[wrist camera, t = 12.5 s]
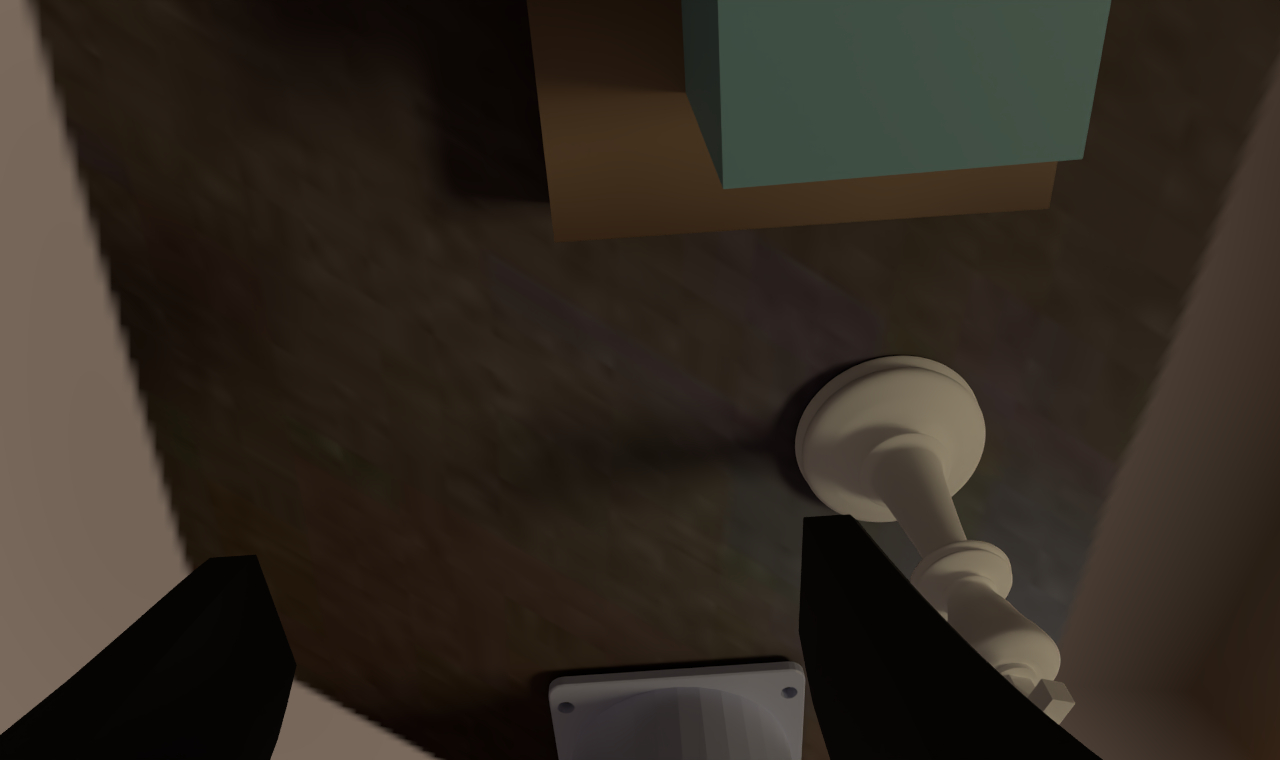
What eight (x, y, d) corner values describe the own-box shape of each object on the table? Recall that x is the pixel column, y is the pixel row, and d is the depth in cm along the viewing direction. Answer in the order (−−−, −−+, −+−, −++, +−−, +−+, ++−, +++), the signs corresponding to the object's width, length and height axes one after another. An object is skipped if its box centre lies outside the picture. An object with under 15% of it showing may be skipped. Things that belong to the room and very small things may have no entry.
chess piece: (768, 488, 24) (860, 833, 15) (836, 334, 21) (993, 635, 13) (929, 524, 25) (1106, 870, 16) (1012, 379, 22) (1272, 691, 14)
